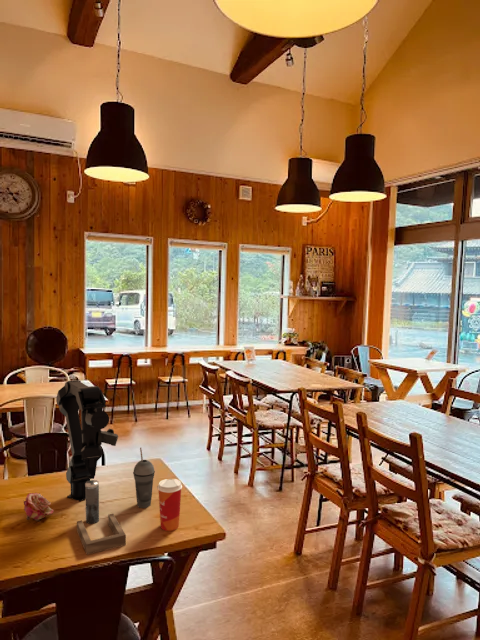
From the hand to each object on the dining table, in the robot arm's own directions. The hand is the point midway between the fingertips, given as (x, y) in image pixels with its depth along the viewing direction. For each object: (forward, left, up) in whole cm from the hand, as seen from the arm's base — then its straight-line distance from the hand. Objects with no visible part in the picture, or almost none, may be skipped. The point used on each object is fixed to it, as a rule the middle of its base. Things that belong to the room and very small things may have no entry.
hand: (92, 473), depth 156 cm
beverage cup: (+11, +12, -14) cm, 21 cm away
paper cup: (+27, +4, -14) cm, 31 cm away
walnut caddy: (+12, -10, -13) cm, 21 cm away
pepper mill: (+4, -4, -13) cm, 14 cm away
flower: (-13, -11, -14) cm, 22 cm away
